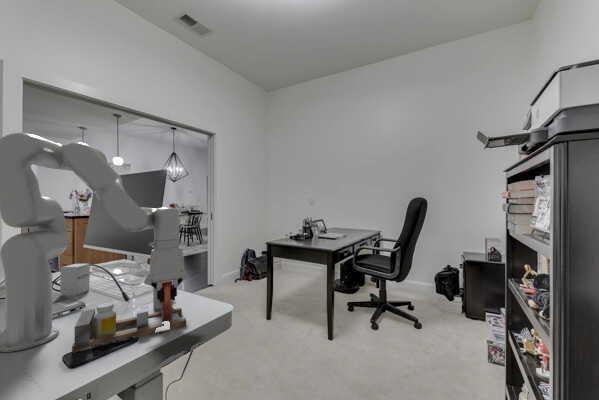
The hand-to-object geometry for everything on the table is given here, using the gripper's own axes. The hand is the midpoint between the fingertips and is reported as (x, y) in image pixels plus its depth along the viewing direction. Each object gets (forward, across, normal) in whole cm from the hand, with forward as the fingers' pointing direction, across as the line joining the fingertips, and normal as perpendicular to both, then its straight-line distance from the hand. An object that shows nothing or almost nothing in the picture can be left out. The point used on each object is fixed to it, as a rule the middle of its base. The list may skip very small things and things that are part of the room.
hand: (167, 299), depth 86 cm
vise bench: (+8, -9, 0) cm, 12 cm away
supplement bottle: (+8, -16, 0) cm, 18 cm away
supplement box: (+8, -32, +57) cm, 66 cm away
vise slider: (+7, -3, 0) cm, 8 cm away
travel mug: (+8, 0, +15) cm, 17 cm away
